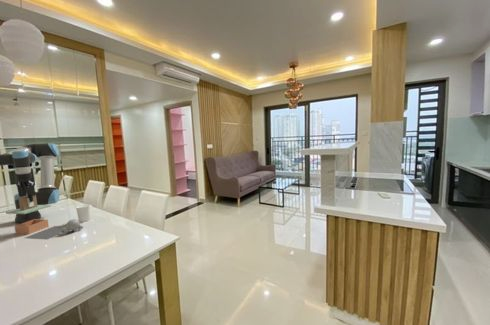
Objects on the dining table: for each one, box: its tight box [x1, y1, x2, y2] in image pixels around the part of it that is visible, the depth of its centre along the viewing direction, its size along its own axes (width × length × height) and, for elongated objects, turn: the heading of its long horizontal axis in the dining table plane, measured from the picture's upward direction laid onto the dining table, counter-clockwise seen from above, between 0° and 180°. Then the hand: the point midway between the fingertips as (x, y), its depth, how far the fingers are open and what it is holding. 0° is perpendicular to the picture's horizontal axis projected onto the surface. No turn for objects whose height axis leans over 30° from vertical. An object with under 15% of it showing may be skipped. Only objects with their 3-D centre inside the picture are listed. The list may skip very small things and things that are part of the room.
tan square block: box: [14, 218, 49, 235], centre depth 151 cm, size 12×12×6 cm
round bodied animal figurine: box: [59, 218, 84, 236], centre depth 144 cm, size 7×12×8 cm, turn 146°
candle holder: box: [75, 203, 93, 223], centre depth 165 cm, size 10×10×12 cm
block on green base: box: [5, 194, 52, 215], centre depth 149 cm, size 16×16×10 cm
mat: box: [24, 225, 66, 240], centre depth 145 cm, size 19×19×1 cm
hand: (28, 206), depth 149 cm, fingers closed on block on green base, 3 cm apart
